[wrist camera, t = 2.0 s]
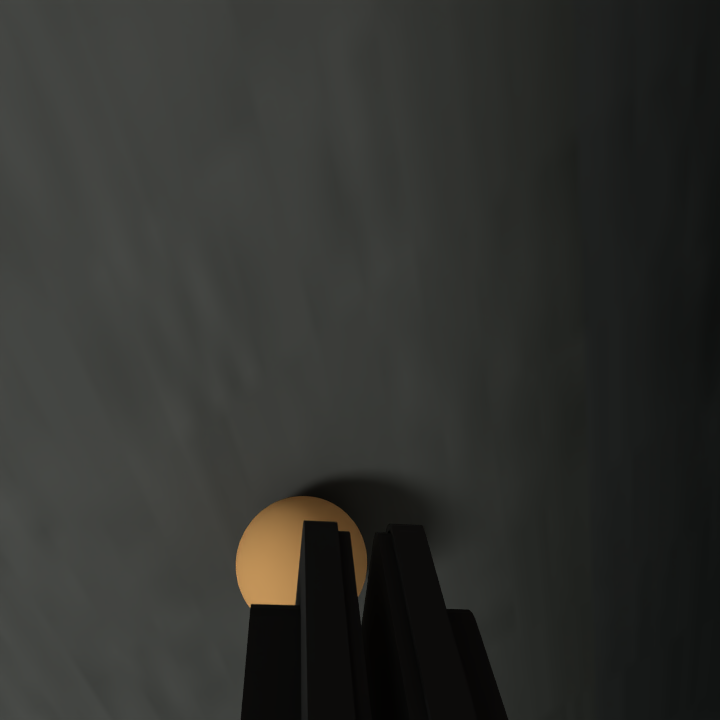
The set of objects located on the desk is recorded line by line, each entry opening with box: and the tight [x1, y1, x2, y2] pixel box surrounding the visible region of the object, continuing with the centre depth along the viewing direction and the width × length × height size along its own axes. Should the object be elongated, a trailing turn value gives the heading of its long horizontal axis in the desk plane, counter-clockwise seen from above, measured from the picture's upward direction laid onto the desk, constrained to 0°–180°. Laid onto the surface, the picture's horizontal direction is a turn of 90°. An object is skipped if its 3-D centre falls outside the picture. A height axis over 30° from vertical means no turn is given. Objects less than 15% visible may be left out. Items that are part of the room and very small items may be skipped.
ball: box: [236, 496, 367, 608], centre depth 26 cm, size 5×5×5 cm
